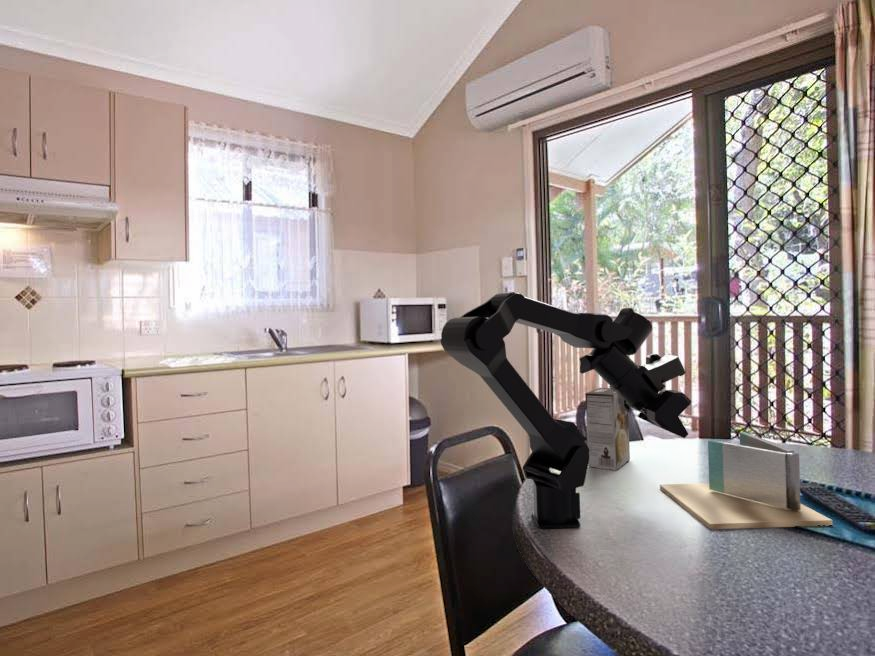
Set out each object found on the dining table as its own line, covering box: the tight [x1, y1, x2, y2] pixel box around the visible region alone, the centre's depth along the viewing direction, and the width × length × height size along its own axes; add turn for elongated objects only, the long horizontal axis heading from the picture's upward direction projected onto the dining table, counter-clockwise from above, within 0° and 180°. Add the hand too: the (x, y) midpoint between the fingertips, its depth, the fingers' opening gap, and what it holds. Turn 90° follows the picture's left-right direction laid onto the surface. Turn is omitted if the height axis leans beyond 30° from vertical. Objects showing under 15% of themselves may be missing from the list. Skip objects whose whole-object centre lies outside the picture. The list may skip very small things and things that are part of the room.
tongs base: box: [659, 431, 834, 530], centre depth 85 cm, size 18×19×10 cm
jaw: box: [707, 439, 802, 510], centre depth 84 cm, size 2×13×9 cm, turn 34°
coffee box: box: [585, 387, 631, 471], centre depth 111 cm, size 9×6×16 cm
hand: (685, 435), depth 88 cm, fingers closed
